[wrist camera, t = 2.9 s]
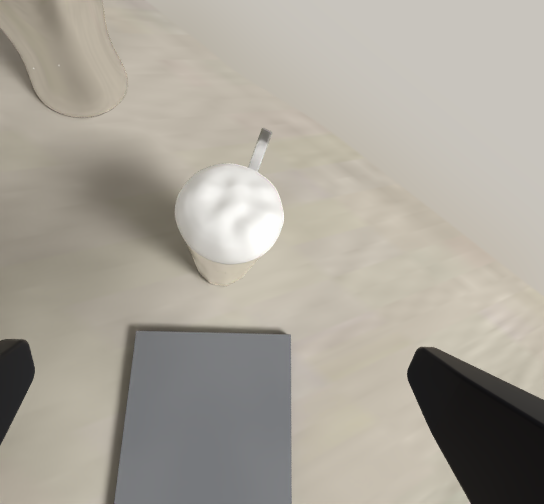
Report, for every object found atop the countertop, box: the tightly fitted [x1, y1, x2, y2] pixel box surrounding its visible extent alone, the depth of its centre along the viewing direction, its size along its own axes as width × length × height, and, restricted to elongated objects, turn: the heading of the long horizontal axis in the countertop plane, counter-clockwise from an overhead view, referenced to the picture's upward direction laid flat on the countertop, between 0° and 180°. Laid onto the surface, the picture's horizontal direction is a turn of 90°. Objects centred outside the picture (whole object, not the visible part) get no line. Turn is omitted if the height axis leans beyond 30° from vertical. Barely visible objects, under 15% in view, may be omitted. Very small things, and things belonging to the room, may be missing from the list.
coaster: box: [114, 331, 292, 504], centre depth 19 cm, size 9×9×1 cm
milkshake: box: [175, 128, 284, 286], centre depth 17 cm, size 4×5×10 cm
